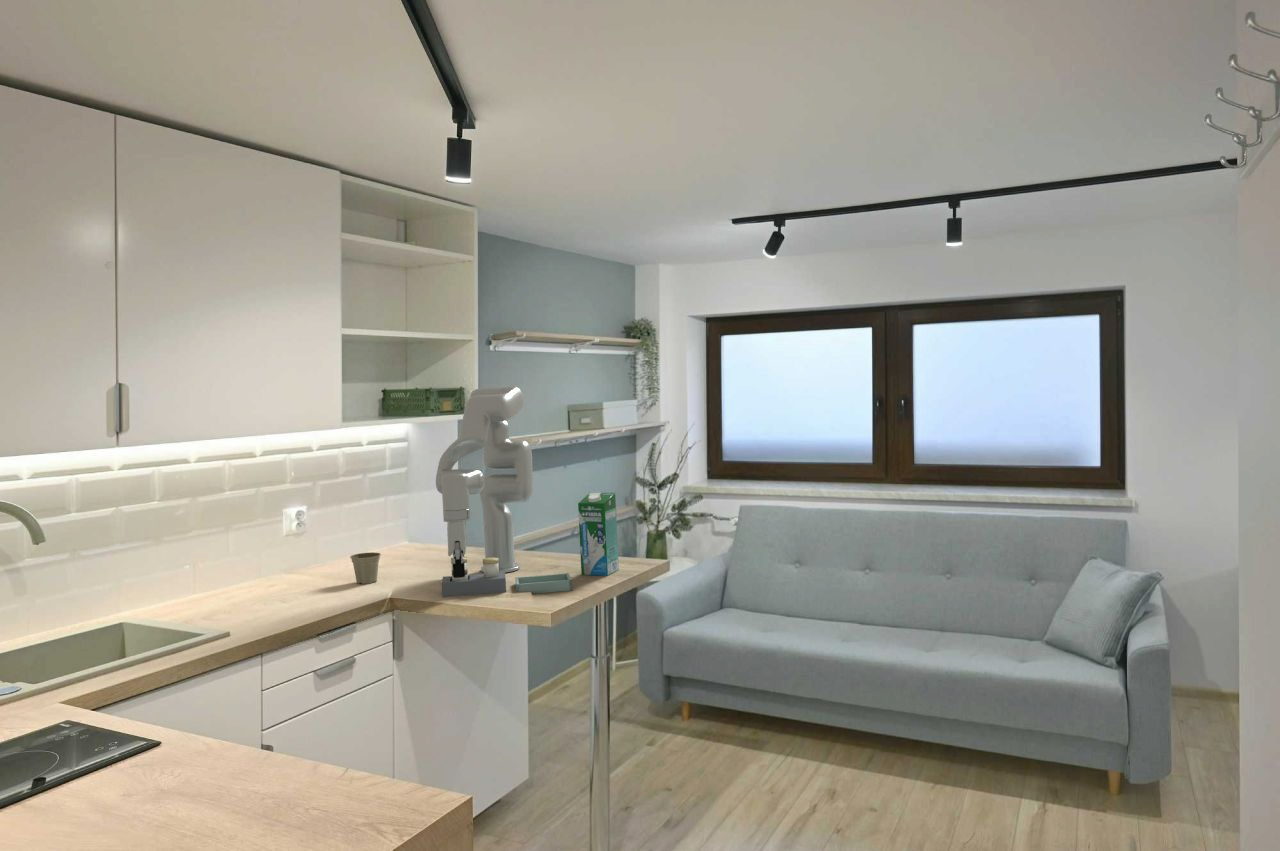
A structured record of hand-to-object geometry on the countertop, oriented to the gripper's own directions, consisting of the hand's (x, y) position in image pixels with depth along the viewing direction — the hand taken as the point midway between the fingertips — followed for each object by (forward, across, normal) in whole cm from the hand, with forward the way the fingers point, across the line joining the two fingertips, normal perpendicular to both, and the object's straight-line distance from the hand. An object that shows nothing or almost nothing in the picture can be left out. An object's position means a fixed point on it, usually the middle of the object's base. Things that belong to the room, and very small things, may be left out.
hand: (459, 573), depth 257 cm
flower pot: (+7, -30, -30) cm, 43 cm away
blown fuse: (+5, 0, 0) cm, 5 cm away
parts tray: (+6, 0, +24) cm, 25 cm away
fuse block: (+6, 0, +4) cm, 8 cm away
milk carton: (+6, -17, +43) cm, 47 cm away
